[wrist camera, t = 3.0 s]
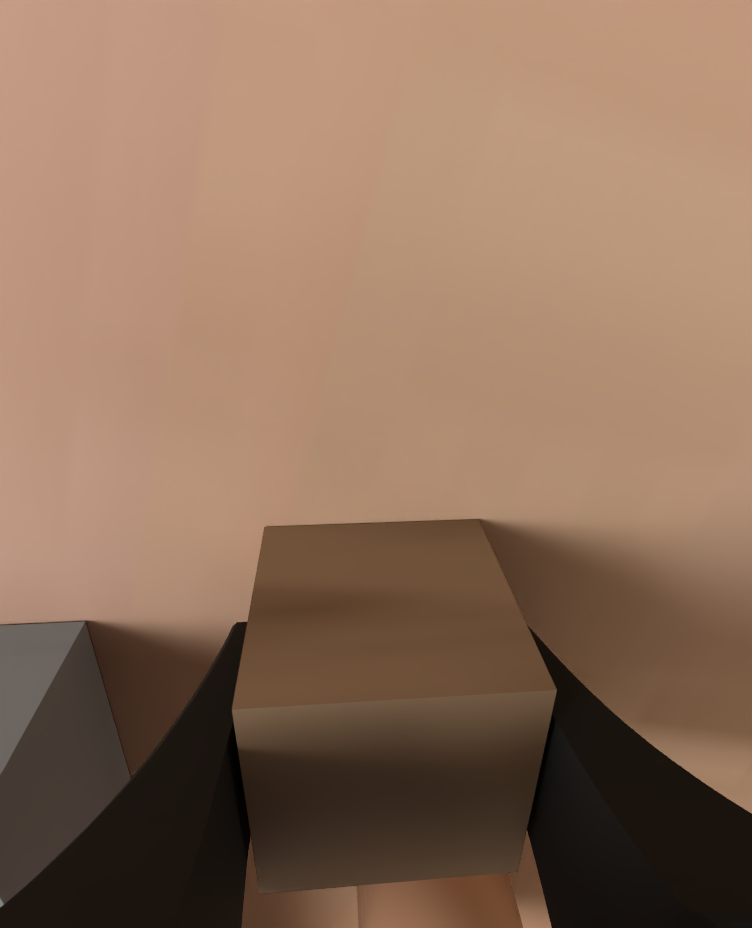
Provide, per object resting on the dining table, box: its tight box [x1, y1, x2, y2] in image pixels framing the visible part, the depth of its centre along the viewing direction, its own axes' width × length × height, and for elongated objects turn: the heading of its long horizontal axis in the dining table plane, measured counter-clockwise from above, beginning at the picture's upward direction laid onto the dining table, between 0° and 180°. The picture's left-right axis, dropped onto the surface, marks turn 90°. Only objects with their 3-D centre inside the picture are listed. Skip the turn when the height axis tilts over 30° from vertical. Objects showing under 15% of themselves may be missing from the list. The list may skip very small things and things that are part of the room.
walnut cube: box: [232, 519, 557, 894], centre depth 12 cm, size 5×5×5 cm
